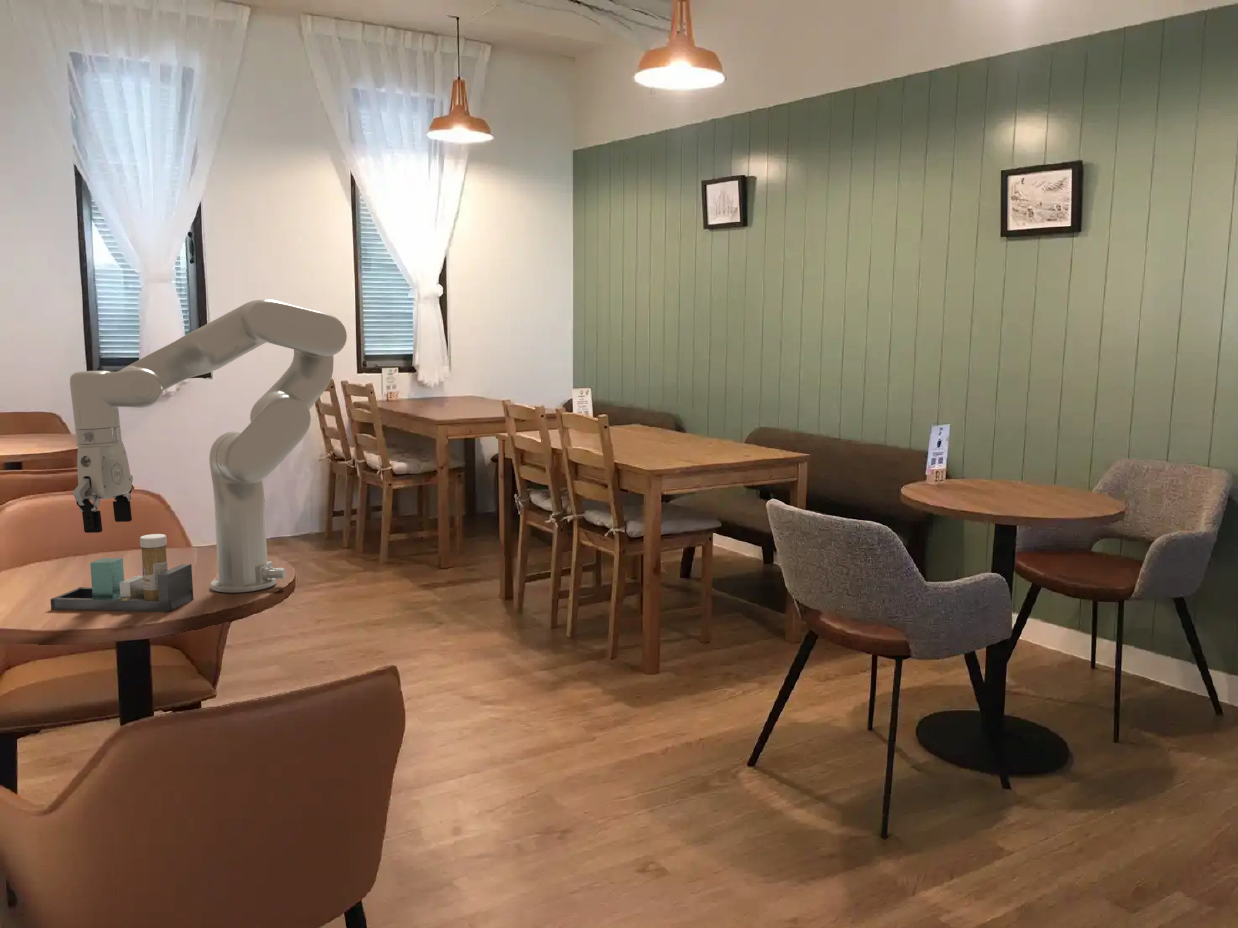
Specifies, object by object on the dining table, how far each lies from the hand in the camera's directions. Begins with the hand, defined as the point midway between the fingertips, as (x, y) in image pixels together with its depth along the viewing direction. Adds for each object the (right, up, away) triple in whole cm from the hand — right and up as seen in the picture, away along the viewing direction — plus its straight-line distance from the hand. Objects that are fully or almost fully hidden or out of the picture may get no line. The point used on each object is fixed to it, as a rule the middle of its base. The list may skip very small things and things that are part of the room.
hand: (108, 526), depth 190 cm
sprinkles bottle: (+9, -15, +1) cm, 18 cm away
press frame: (+2, -15, +1) cm, 15 cm away
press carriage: (+1, -15, +1) cm, 15 cm away
